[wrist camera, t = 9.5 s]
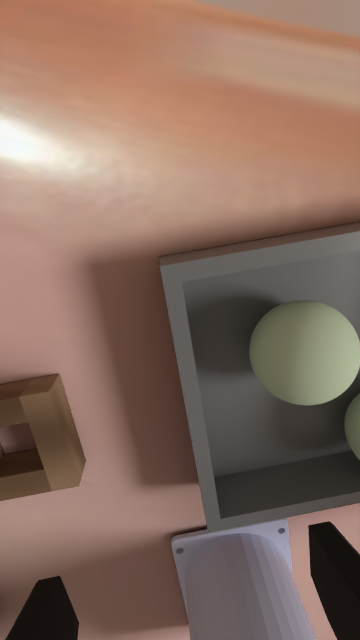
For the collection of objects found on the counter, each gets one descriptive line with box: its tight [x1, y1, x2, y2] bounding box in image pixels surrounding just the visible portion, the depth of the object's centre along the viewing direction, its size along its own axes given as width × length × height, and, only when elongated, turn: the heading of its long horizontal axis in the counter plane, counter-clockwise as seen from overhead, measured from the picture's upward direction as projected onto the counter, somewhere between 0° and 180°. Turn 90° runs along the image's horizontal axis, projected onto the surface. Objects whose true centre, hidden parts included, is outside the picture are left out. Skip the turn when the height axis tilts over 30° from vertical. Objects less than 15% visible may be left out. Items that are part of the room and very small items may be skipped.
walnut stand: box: [0, 374, 86, 501], centre depth 18 cm, size 6×6×2 cm
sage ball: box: [249, 300, 360, 405], centre depth 16 cm, size 5×5×5 cm
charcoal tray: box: [158, 222, 360, 533], centre depth 18 cm, size 15×15×4 cm
